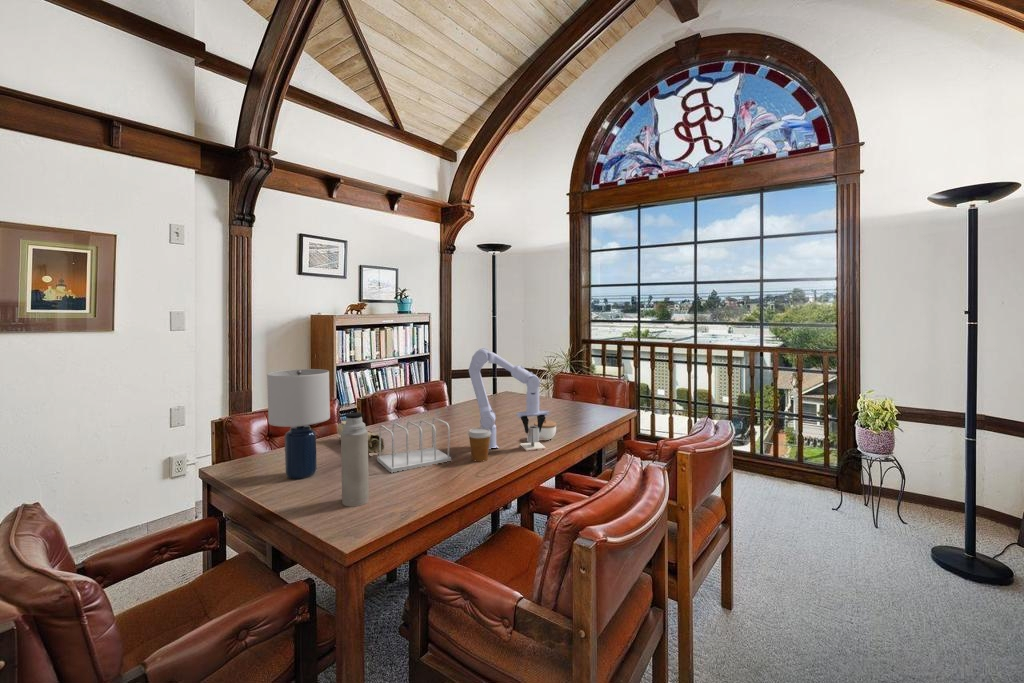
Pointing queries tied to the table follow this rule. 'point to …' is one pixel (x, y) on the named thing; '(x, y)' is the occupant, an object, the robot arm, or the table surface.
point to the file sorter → (414, 457)
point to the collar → (533, 434)
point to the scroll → (372, 440)
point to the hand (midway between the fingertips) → (532, 432)
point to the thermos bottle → (354, 461)
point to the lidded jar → (547, 429)
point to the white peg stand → (532, 445)
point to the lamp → (299, 414)
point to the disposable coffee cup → (479, 443)
